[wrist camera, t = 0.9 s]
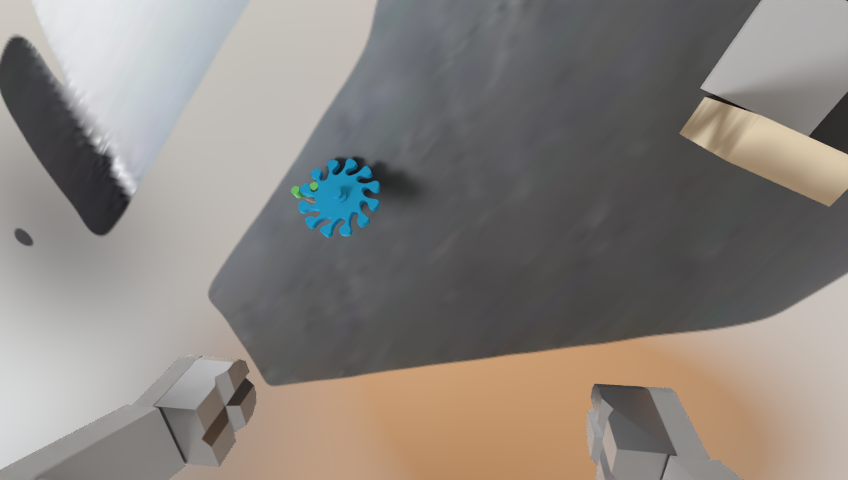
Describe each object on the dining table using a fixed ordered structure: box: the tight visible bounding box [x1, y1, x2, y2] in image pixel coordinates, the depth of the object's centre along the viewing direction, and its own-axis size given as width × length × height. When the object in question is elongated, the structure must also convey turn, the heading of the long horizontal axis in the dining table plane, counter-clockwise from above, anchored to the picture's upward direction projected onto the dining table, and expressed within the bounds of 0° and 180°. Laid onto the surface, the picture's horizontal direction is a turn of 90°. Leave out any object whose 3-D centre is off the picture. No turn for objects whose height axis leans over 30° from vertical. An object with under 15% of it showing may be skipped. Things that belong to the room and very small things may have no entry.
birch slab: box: [679, 97, 848, 207], centre depth 38 cm, size 4×10×10 cm, turn 69°
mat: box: [700, 0, 848, 136], centre depth 39 cm, size 10×12×1 cm
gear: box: [291, 159, 380, 238], centre depth 51 cm, size 11×6×10 cm
